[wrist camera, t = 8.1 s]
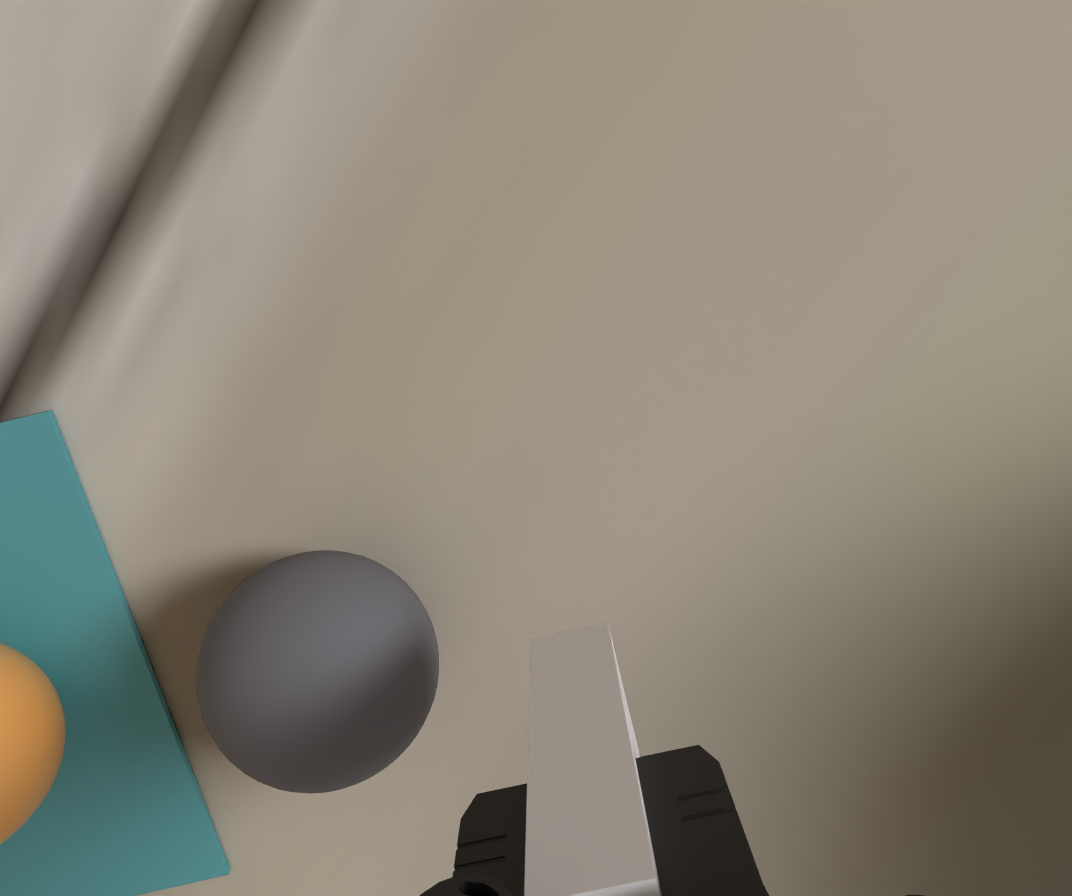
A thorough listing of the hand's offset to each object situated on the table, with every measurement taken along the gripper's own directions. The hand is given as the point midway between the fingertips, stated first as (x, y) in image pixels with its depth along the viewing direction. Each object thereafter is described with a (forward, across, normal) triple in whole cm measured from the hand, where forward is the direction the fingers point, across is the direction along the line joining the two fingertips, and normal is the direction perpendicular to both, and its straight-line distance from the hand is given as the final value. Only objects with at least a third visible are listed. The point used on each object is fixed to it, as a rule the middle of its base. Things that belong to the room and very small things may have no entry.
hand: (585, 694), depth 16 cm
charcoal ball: (+4, +6, 0) cm, 7 cm away
